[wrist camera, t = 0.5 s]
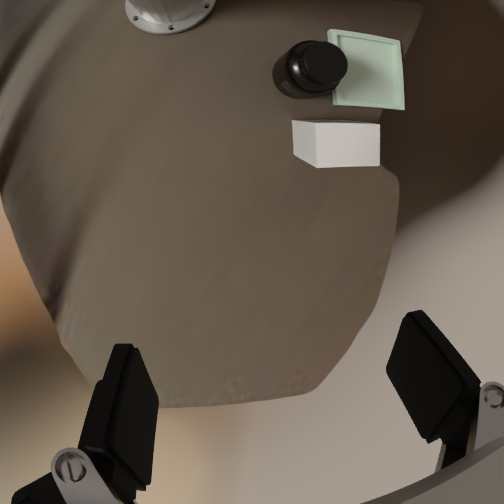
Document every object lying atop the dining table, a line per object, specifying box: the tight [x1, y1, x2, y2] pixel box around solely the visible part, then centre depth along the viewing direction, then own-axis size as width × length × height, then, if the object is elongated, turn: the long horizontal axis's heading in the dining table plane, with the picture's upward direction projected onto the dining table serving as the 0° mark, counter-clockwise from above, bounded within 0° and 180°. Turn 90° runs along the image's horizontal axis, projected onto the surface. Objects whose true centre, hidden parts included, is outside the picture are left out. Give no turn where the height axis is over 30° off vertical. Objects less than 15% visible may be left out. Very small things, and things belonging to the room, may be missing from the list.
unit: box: [292, 120, 380, 168], centre depth 34 cm, size 6×8×10 cm
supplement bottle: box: [272, 40, 348, 99], centre depth 29 cm, size 7×7×12 cm
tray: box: [327, 29, 405, 110], centre depth 34 cm, size 12×12×2 cm
